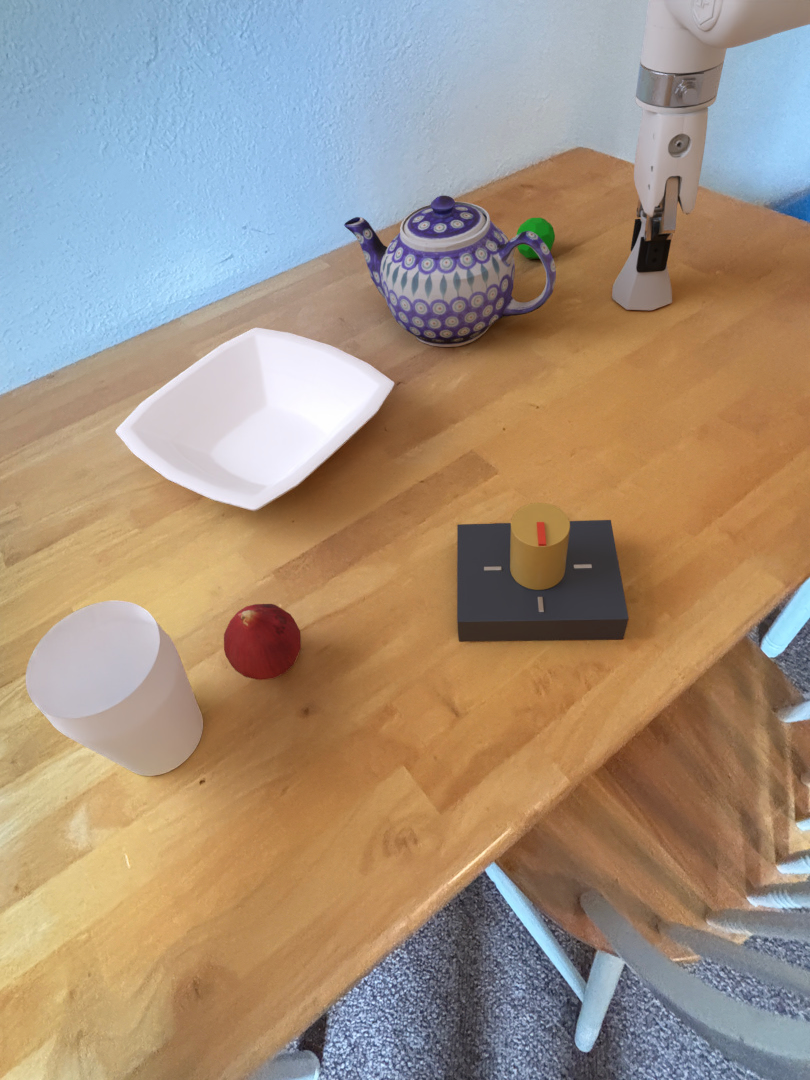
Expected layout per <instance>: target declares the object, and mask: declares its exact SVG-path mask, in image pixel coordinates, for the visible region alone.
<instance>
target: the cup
mask: <svg viewBox="0 0 810 1080" xmlns="http://www.w3.org/2000/svg"><path fill="white" fill-rule="evenodd" d="M24 680H25V688H26V692H27V695H28V697H29V699H30V700H31V701H32V704H33V705H34V706H35V707H36V708H37V709H38V710H39V711H40V713H42V714H43V716H44V717H45V718H46V719H47V720H48V722H49V723H50V724H51V725H52V726H53V727H54V728H55V729H56V730H57V731H58V732H60V733H61V734H62V735H64V736H65V737H66V738H69V739H70V740H72V741H73V742H76V743H77V744H80V745H81V746H83V747H85V748H87V749H88V750H91V751H92V752H95V753H96V754H98V755H100V756H102V757H104V758H106V759H107V760H110V761H111V762H113V763H115V764H117V765H119V766H120V767H123V768H124V769H126V770H128V771H130V772H132V773H134V774H136V775H139V776H144V777H152V776H153V777H155V776H161V775H163V774H167V773H169V772H171V771H173V770H175V769H176V768H178V767H180V766H181V765H182V764H183V763H185V761H187V760H188V759H189V758H190V757H191V755H192V754H193V753H194V752H195V751H196V749H197V747H198V745H199V743H200V741H201V738H202V735H203V730H204V720H203V715H202V712H201V710H200V706H199V704H198V701H197V699H196V696H195V693H194V691H193V688H192V686H191V683H190V680H189V678H188V675H187V673H186V670H185V667H184V664H183V662H182V659H181V657H180V654H179V651H178V649H177V647H176V644H175V643H174V641H173V639H172V638H171V637H170V634H168V633H167V632H166V631H165V630H164V629H163V628H162V626H161V625H160V624H159V623H158V621H157V620H156V619H155V617H154V616H153V615H152V614H151V612H149V611H148V610H147V609H145V608H144V607H143V606H141V605H139V604H136V603H134V602H131V601H127V600H116V599H115V600H104V601H99V602H94V603H90V604H88V605H85V606H83V607H81V608H79V609H76V610H74V611H73V612H70V613H69V614H67V615H66V616H64V617H63V618H61V619H60V620H59V621H57V623H55V624H53V626H51V628H50V629H48V631H47V632H46V633H45V634H44V635H43V636H42V637H41V638H40V640H39V641H38V642H37V644H36V646H35V647H34V649H33V651H32V653H31V655H30V657H29V660H28V662H27V666H26V670H25V679H24Z"/></svg>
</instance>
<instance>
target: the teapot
mask: <svg viewBox="0 0 810 1080" xmlns="http://www.w3.org/2000/svg"><path fill="white" fill-rule="evenodd" d="M343 226H344V227H345V228H346V229H347V230H348V231H350V233H352V234H353V236H354V237H355V239H357V241H358V242H359V243H358V244H359V245H360V248H361V251H362V254H363V257H364V260H365V263H366V266H367V269H368V273H369V276H370V278H371V281H372V282H373V284H374V287H376V289H377V291H378V292H379V294H380V295H381V296H382V297H383V298H384V299H385V303H386V305H387V307H388V309H389V311H390V313H391V315H392V317H393V319H394V320H395V321H396V322H397V324H398V325H399V326H400V327H401V328H402V329H404V330H405V331H407V333H409V334H411V335H412V336H414V337H415V338H416V340H418V341H419V342H420V343H423V344H425V345H428V346H431V347H432V346H433V347H440V348H452V347H453V348H454V347H455V348H456V347H461V346H466V345H467V344H470V343H472V342H474V341H476V340H478V339H479V338H480V337H482V336H483V335H484V334H486V332H487V331H488V330H489V329H490V327H492V326H493V325H494V324H495V323H496V322H498V321H499V320H501V319H503V318H508V317H514V316H515V317H516V316H521V315H526V314H529V313H533V312H534V311H536V310H538V309H540V308H542V307H543V306H544V305H545V304H546V302H547V301H548V300H549V299H550V298H551V296H552V294H553V292H554V288H555V286H556V285H555V284H556V278H557V267H556V264H555V260H554V257H553V255H552V253H551V250H550V251H549V249H548V247H547V246H546V244H545V243H544V242H543V240H542V239H541V238H540V237H539V236H538V235H536V234H535V233H533V232H531V231H524V232H522V233H520V234H518V235H517V236H516V235H515V236H513V237H512V238H510V239H509V237H508V235H506V233H505V232H504V231H503V230H502V229H500V228H499V227H498V226H497V225H496V223H494V222H493V221H492V220H491V217H490V214H489V213H488V211H487V210H486V209H485V208H483V207H482V206H480V205H477V204H475V203H471V202H465V201H455V199H454V198H453V197H451V196H450V195H439V196H437V197H435V198H434V199H432V201H431V202H430V204H427V205H424V206H421V207H419V208H417V209H415V210H413V211H411V212H410V213H409V214H408V215H406V217H404V219H403V220H402V221H401V224H400V227H399V233H398V234H396V235H395V236H394V238H393V239H392V240H391V241H390V243H389V244H388V246H386V245H385V244H384V243H383V242H382V241H381V239H380V237H379V236H378V235H377V233H376V231H375V230H374V228H373V227H372V225H371V224H370V222H368V221H367V219H365V218H364V217H361V216H355V217H353V218H350V219H348V220H347V221H346V222H345V223H344V224H343ZM521 244H525V245H528V246H530V247H531V248H532V249H533V250H534V251H535V252H536V253H537V255H538V256H539V259H540V262H541V263H542V266H543V268H544V272H545V278H546V279H545V285H544V289H543V290H542V292H541V293H540V294H539V295H538V296H537V297H535V298H534V299H531V300H528V301H525V302H519V301H517V300H515V298H514V297H513V296H512V293H513V290H514V284H515V283H514V282H515V273H516V272H515V271H516V261H515V258H514V257H515V251H516V249H517V246H519V245H521Z"/></svg>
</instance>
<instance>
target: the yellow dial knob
mask: <svg viewBox="0 0 810 1080" xmlns="http://www.w3.org/2000/svg"><path fill="white" fill-rule="evenodd" d="M570 521H571V520H570V518H569V517H568V515H567V514H566V512H565V511H564V510H562V508H560V507H558V506H557V505H554V504H552V503H548V502H533V503H528V504H525V505H523V506H521V507H519V508H518V509H517V510H516V511H515V512H514V513H513V515H512V517H511V520H510V523H511V540H510V571H511V574H512V576H513V578H514V579H515V580H516V582H518V583H519V584H520V585H522V586H524V587H526V588H529V589H533V590H544V589H548V588H551V587H553V586H555V585H556V584H558V583H559V582H560V581H561V580H562V578H563V576H564V573H565V566H566V558H567V549H568V541H569V532H570Z"/></svg>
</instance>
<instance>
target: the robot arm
mask: <svg viewBox="0 0 810 1080" xmlns="http://www.w3.org/2000/svg"><path fill="white" fill-rule="evenodd" d="M646 5H647V7H646V14H645V21H644V27H643V37H642V44H641V51H640V61H639V68H638V75H637V82H636V90H635V97H634V101H635V104H636V105H637V107H639V108H641V109H642V110H641V111H642V113H641V117H640V124H639V129H638V136H637V143H636V150H635V157H634V167H633V182H634V186H635V189H636V192H637V195H638V199H637V206H636V213H635V214H636V218H635V219H634V223H633V231H632V237H631V244H630V253H631V252H632V250H633V248H634V246H635V244H636V242H637V239H638V236H639V233H640V230H641V225H642V222H641V211H643V210H644V212H645V213H646V214H647V218H646V226H645V233H644V237H641V240H640V246H639V252H638V259H637V265H636V270H637V272H639V273H643V272H658V271H664V270H665V269H666V265H667V266H668V260H669V259H668V258H669V254H670V248H671V243H672V239H673V234H674V233H676V228H677V217H678V216H677V215H678V213H677V212H678V204H679V206H680V209H681V211H682V214H685V215H687V216H688V215H691V214H693V212H694V210H695V208H696V203H697V197H698V190H699V184H700V180H701V172H702V167H703V161H704V155H705V154H704V153H705V148H706V147H705V146H706V141H707V129H708V118H709V108H708V107H711V106H712V105H714V104H715V102H716V101H717V97H718V91H719V87H720V82H721V77H722V72H723V68H724V63H725V59H726V54H727V49H731V48H737V47H740V46H744V45H748V44H750V43H754V42H757V41H760V40H765V39H767V38H770V37H771V36H774V35H777V34H781V33H784V32H787V31H791V30H794V29H798V28H801V27H806V26H809V25H810V0H647V4H646ZM659 217H662V218H661V221H660V222H656V223H655V224H654V225H653V221H654V218H659Z"/></svg>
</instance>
